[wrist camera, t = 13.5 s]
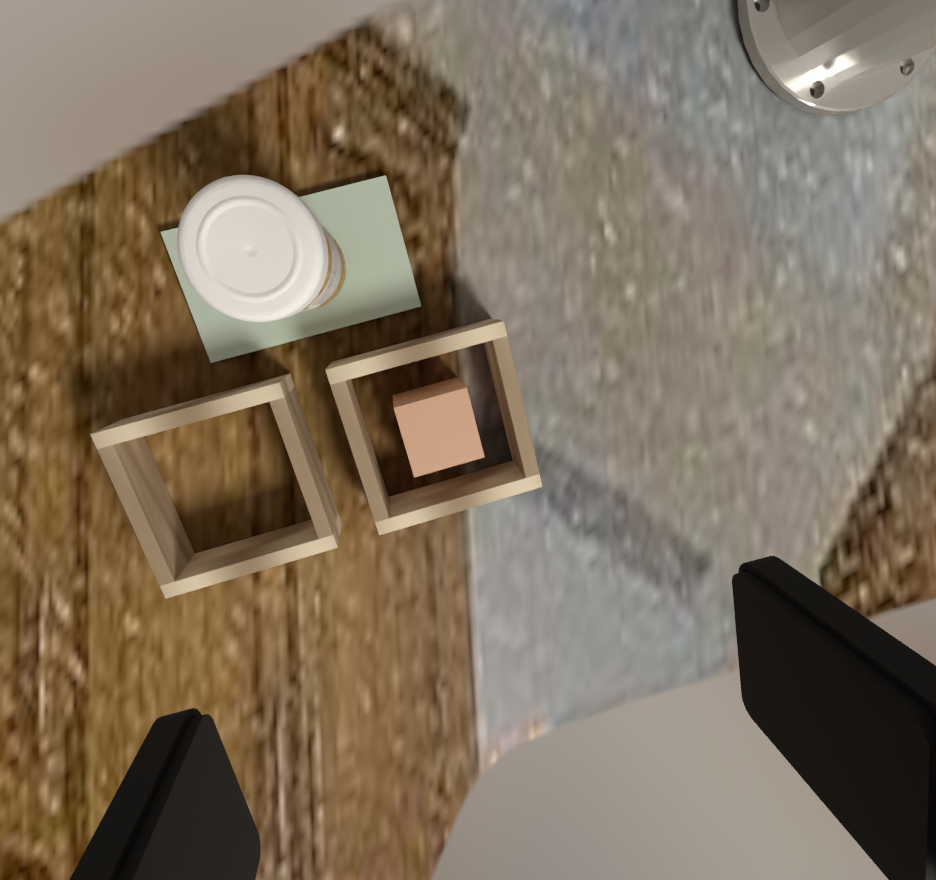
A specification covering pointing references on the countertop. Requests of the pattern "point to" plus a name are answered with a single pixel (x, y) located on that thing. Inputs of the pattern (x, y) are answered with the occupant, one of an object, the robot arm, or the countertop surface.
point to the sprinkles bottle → (257, 250)
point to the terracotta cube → (438, 426)
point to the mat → (365, 287)
